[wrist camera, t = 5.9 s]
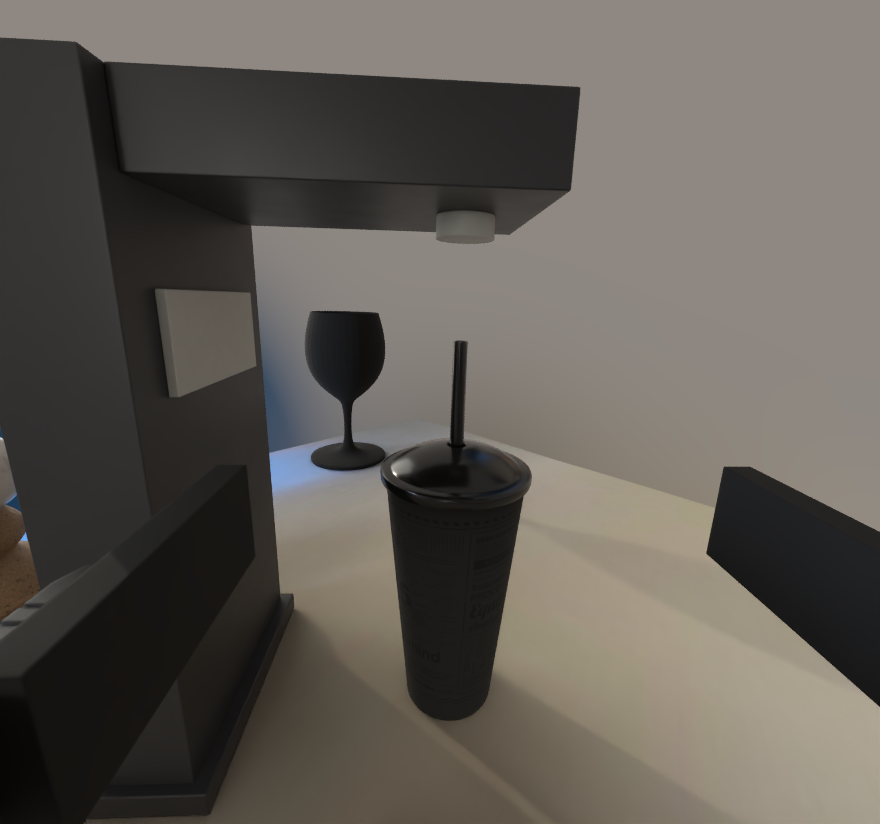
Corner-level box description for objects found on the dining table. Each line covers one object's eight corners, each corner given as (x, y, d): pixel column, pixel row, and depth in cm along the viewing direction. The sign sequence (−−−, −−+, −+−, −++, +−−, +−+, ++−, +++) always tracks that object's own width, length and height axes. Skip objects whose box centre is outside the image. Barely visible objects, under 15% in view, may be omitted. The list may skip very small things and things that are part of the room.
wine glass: (349, 477, 54) (344, 314, 49) (294, 459, 59) (285, 311, 54) (400, 454, 62) (400, 313, 57) (348, 440, 68) (344, 310, 63)
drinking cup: (452, 616, 31) (463, 333, 26) (540, 689, 25) (576, 345, 20) (357, 674, 26) (348, 337, 21) (441, 780, 20) (456, 354, 15)
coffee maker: (65, 820, 18) (-152, 17, 11) (209, 608, 31) (153, 167, 24) (523, 805, 19) (600, 60, 12) (482, 605, 32) (508, 182, 25)
